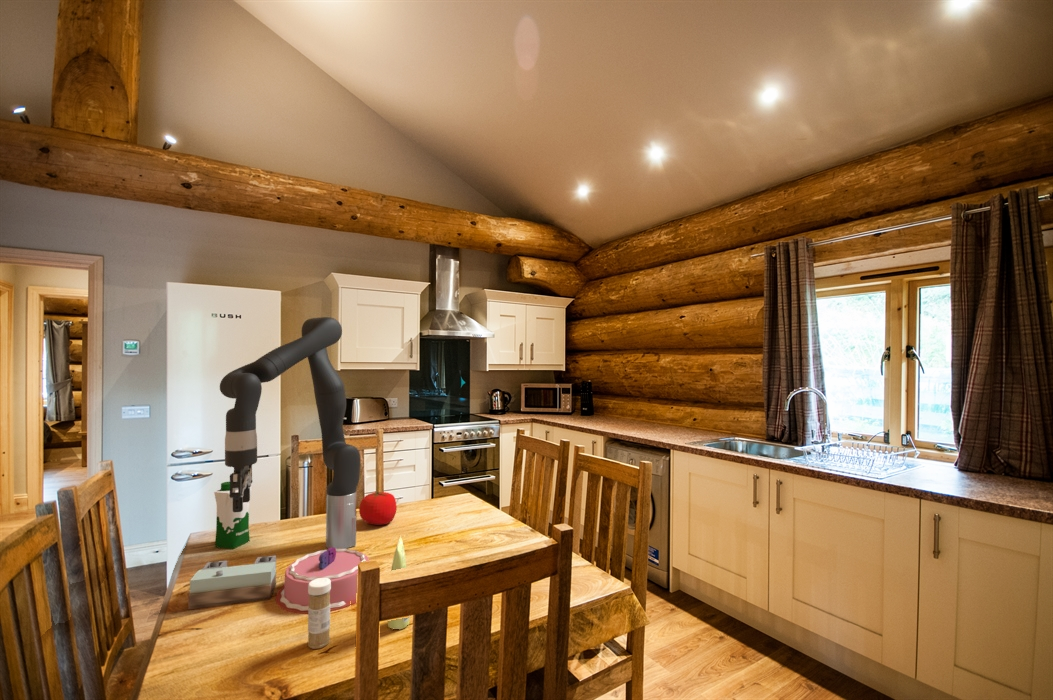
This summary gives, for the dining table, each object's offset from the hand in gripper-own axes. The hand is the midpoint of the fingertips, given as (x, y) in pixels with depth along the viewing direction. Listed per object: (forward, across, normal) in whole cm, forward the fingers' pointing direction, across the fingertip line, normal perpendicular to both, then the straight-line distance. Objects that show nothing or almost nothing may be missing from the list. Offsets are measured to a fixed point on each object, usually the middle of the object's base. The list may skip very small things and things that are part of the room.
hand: (241, 506), depth 131 cm
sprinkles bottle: (+22, -34, -22) cm, 46 cm away
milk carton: (+22, +34, +10) cm, 41 cm away
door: (+18, -3, +1) cm, 18 cm away
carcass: (+22, -5, +1) cm, 22 cm away
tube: (+22, -32, -39) cm, 55 cm away
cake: (+22, -8, -22) cm, 33 cm away
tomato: (+23, +40, -36) cm, 59 cm away
